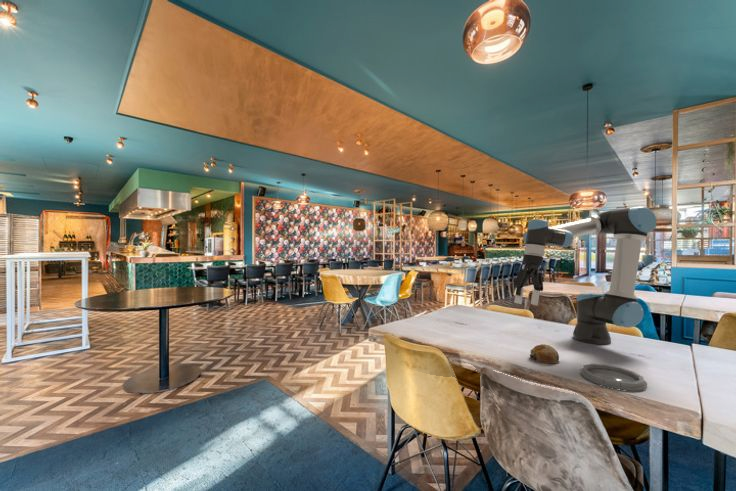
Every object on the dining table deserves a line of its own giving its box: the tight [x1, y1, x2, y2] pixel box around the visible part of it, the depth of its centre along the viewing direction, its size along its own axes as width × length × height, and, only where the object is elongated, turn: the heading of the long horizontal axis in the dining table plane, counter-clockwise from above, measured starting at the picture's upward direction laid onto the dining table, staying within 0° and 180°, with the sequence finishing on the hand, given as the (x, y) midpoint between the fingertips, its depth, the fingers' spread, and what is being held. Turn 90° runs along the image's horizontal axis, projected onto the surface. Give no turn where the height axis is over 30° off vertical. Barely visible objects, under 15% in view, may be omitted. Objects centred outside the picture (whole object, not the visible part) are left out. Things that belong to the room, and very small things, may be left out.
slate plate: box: [580, 363, 648, 392], centre depth 105 cm, size 18×18×2 cm
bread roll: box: [529, 343, 560, 365], centre depth 124 cm, size 10×10×8 cm
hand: (526, 304), depth 129 cm, fingers open, 13 cm apart
